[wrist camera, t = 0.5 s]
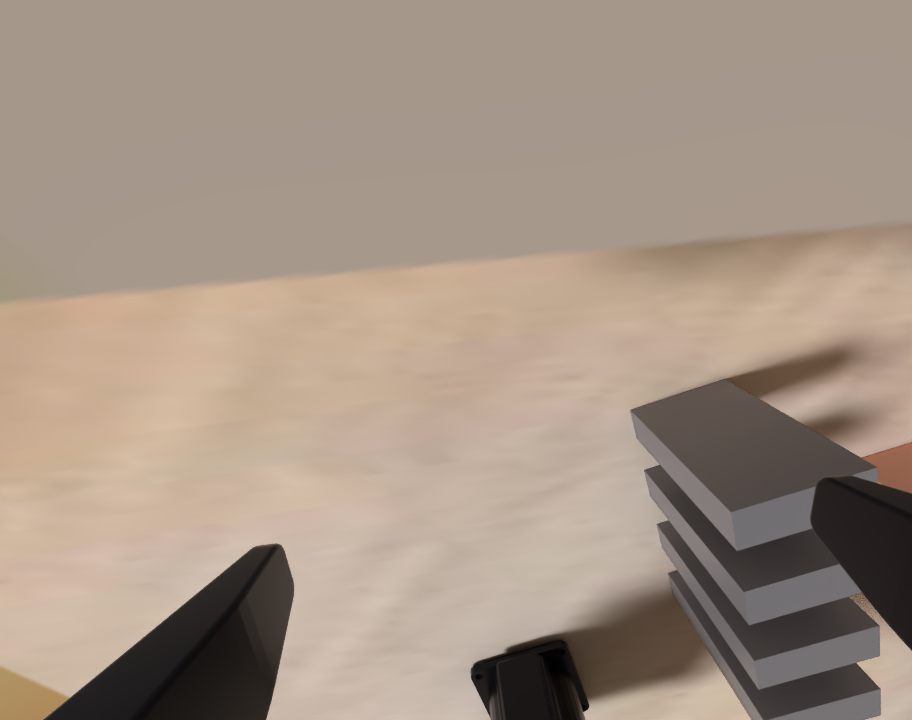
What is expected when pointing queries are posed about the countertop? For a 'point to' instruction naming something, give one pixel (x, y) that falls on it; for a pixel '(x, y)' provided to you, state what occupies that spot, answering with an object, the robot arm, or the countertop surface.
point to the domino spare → (894, 467)
